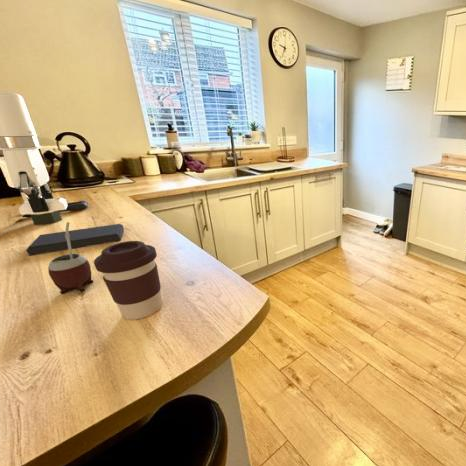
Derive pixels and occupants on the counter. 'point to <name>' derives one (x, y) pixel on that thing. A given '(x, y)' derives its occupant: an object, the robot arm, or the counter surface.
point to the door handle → (70, 207)
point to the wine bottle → (42, 214)
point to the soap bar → (52, 204)
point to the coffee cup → (131, 278)
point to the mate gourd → (70, 270)
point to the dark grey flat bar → (76, 239)
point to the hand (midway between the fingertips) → (44, 208)
